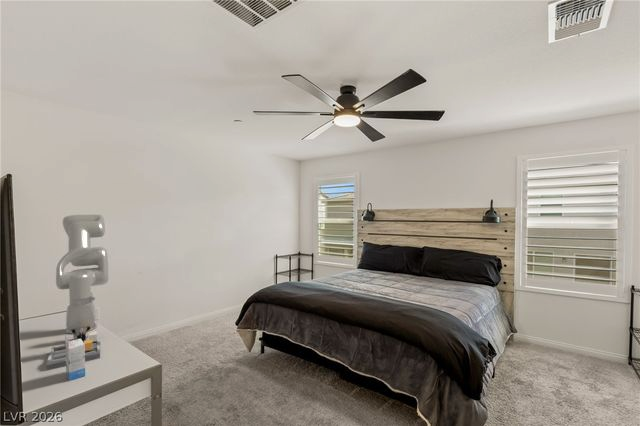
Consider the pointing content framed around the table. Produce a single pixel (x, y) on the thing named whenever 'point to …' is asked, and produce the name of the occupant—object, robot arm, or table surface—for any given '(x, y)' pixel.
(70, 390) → the table surface
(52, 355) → the console
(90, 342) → the block
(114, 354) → the table surface
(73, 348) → the ink box
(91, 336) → the block
